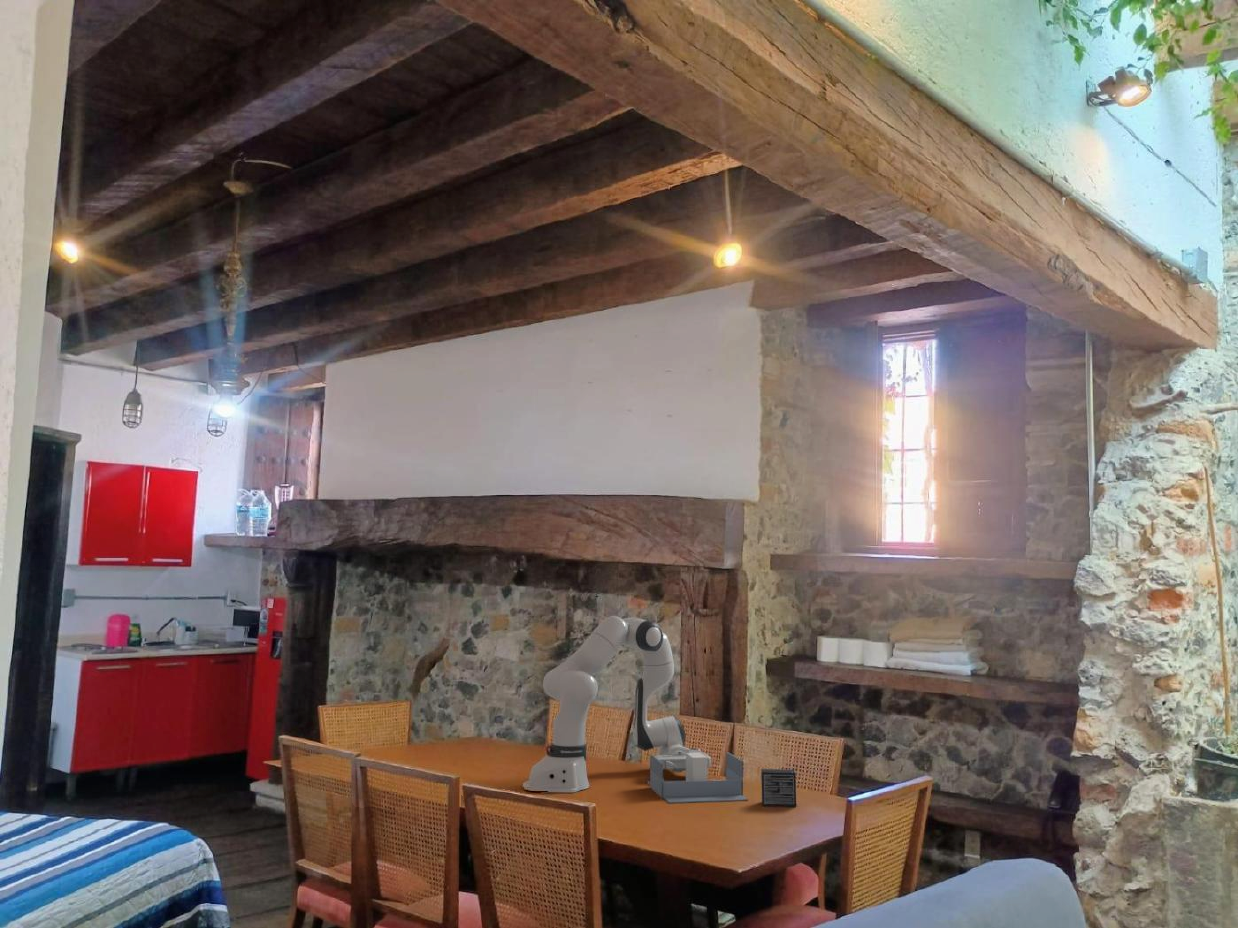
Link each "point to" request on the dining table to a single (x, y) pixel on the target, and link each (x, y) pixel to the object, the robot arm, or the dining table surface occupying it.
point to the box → (696, 767)
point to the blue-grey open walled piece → (699, 784)
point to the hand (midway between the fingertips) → (687, 765)
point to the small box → (778, 787)
